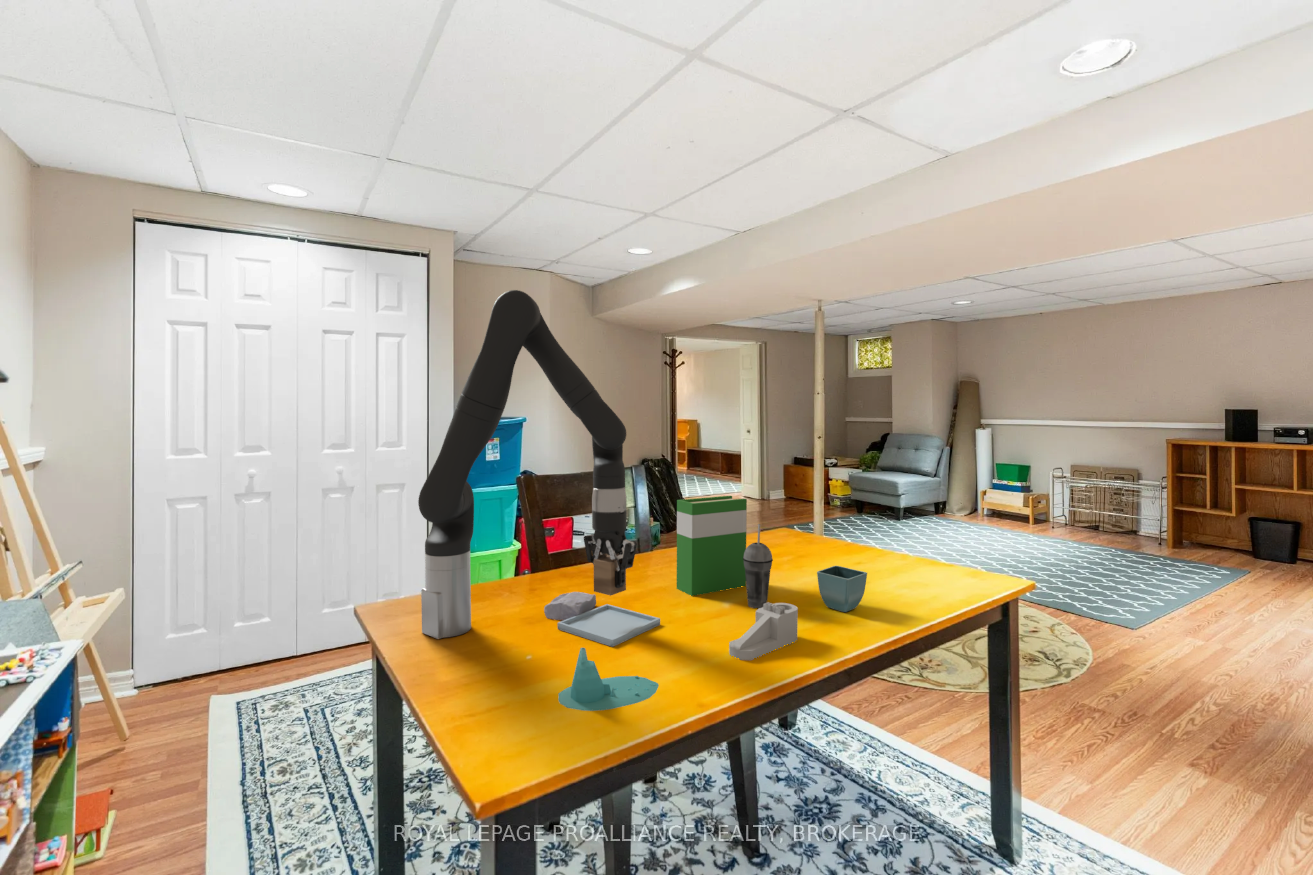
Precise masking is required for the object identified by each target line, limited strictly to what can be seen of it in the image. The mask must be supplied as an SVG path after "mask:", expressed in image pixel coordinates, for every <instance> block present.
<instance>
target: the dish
mask: <svg viewBox="0 0 1313 875" xmlns="http://www.w3.org/2000/svg"><path fill="white" fill-rule="evenodd" d="M660 625H661V618H660V617H656V616H652V615H649V614H645V613H641V612H637V611H634V610H631V609H626V608H622V607H619V606H615V605H611V604H608V603H606V604H604V605H601V606H600V605H599V606H598V607H596V608H595V607H594V608H593V609H592V610H590V611H587V612H585V613H582V614H579V615H577V616H574V617H571V618H569V619H566V620H560V621H558V622H557V630H559V631H563V632H566V633H569V634H571V635H574V636H577V637H581V638H584V639H587V640H590V641H592V642H593V641H594V642H596V643H600V644H603V645H606V646H608V647H611V648H613V647H616V646H618V645H620V644H621V643H624V642H626V641H628V640H630V639H632V638H635V637H636V636H638V635H641V634H643V633H645V632H647V631H650V630H652V629H654V628H655V627H658V626H660Z"/></svg>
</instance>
